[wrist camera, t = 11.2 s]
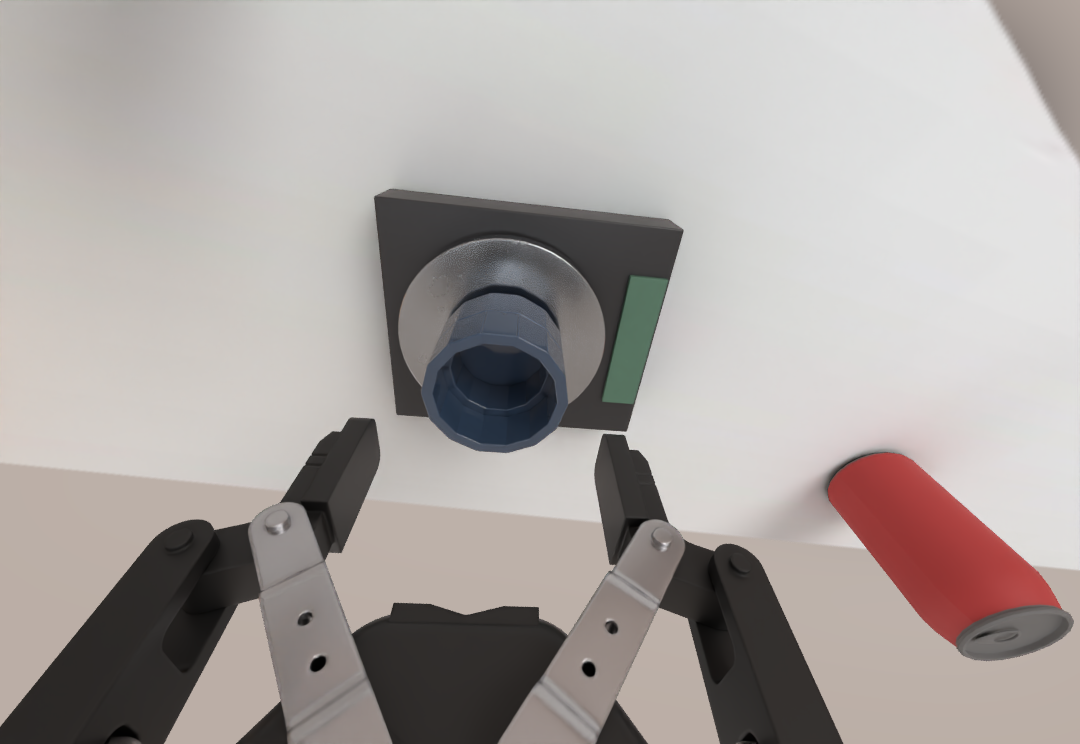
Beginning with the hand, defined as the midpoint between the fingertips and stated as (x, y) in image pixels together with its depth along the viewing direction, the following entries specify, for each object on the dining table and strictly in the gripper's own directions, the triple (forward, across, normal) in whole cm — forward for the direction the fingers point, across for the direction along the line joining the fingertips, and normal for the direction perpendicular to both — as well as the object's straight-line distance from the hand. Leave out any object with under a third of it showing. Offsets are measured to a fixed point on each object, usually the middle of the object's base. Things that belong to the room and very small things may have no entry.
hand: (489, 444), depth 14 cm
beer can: (+12, -30, +12) cm, 34 cm away
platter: (+9, 0, 0) cm, 9 cm away
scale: (+12, -1, 0) cm, 12 cm away
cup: (+8, 0, 0) cm, 8 cm away
